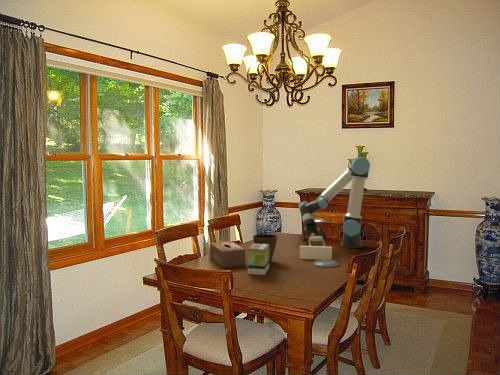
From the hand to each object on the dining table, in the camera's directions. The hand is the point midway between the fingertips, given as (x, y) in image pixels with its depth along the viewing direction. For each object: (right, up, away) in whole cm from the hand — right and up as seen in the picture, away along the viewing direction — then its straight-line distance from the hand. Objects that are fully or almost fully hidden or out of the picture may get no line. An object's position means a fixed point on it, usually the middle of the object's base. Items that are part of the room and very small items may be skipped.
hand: (317, 249), depth 280 cm
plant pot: (-35, -6, -13) cm, 38 cm away
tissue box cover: (-59, -6, -12) cm, 60 cm away
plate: (+2, -6, -21) cm, 22 cm away
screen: (-3, -5, -8) cm, 10 cm away
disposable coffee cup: (-1, -4, +3) cm, 6 cm away
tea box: (-39, -8, -36) cm, 54 cm away
